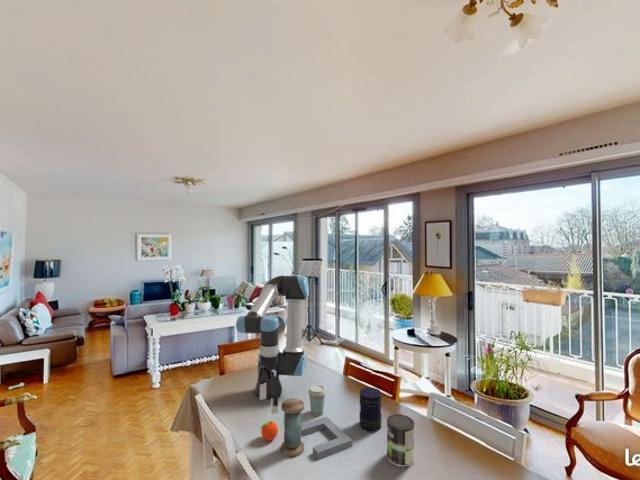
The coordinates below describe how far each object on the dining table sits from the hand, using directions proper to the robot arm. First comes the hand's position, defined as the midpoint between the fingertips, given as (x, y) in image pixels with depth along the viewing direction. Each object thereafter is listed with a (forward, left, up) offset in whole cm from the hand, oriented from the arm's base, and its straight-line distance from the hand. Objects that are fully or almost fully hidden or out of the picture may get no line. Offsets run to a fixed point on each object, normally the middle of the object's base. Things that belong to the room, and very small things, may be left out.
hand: (268, 405), depth 131 cm
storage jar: (+13, +44, -14) cm, 48 cm away
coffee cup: (-8, +28, -14) cm, 33 cm away
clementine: (0, 0, -14) cm, 14 cm away
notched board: (+11, +20, -14) cm, 27 cm away
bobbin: (+11, +6, -14) cm, 19 cm away
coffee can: (+36, +40, -14) cm, 56 cm away
